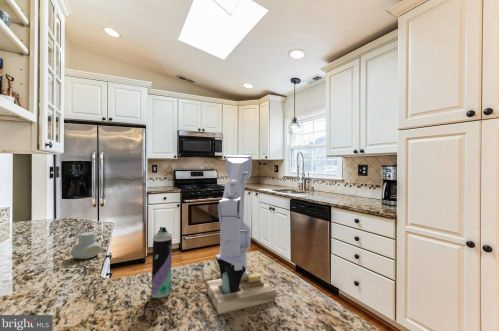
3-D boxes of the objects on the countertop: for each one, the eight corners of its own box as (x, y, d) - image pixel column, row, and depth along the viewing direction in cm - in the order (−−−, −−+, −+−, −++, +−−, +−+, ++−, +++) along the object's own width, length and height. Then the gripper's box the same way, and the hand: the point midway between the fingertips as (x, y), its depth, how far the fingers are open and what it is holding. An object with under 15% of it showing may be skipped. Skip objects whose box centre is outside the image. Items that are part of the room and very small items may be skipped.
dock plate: (206, 291, 72) (206, 278, 72) (255, 281, 79) (255, 269, 79) (218, 314, 60) (218, 299, 61) (275, 300, 67) (275, 287, 68)
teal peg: (220, 296, 69) (220, 272, 69) (233, 294, 71) (233, 270, 71) (224, 303, 65) (224, 278, 66) (237, 301, 67) (238, 276, 67)
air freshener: (93, 251, 107) (94, 229, 107) (105, 254, 103) (105, 231, 104) (66, 259, 97) (67, 235, 97) (78, 263, 94) (79, 238, 94)
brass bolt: (245, 282, 72) (245, 274, 72) (257, 280, 73) (257, 272, 73) (248, 286, 69) (249, 277, 69) (260, 283, 71) (261, 275, 71)
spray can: (151, 299, 67) (153, 229, 68) (151, 290, 72) (153, 225, 73) (171, 295, 69) (173, 228, 70) (170, 287, 74) (171, 224, 75)
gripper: (210, 234, 74) (209, 277, 73) (224, 248, 60) (224, 301, 60) (231, 232, 76) (230, 274, 76) (249, 244, 63) (249, 295, 63)
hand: (229, 285), depth 68 cm, fingers open, 7 cm apart
